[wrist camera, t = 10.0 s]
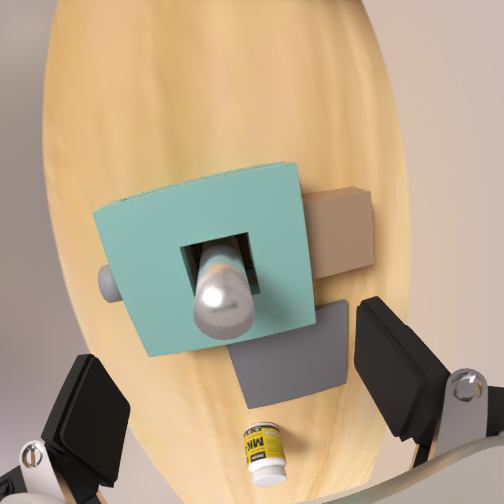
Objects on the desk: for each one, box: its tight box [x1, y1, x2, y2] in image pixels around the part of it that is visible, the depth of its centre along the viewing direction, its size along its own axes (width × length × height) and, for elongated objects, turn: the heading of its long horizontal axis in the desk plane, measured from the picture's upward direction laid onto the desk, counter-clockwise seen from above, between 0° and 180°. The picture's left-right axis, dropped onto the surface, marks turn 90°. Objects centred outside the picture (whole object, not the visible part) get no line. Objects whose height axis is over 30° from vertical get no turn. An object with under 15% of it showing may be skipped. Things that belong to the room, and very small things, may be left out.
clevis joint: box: [93, 162, 374, 357], centre depth 20 cm, size 22×12×4 cm, turn 101°
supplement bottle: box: [244, 422, 287, 486], centre depth 27 cm, size 5×5×8 cm
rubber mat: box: [227, 299, 347, 409], centre depth 27 cm, size 12×12×1 cm
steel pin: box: [193, 235, 255, 340], centre depth 18 cm, size 3×3×10 cm
